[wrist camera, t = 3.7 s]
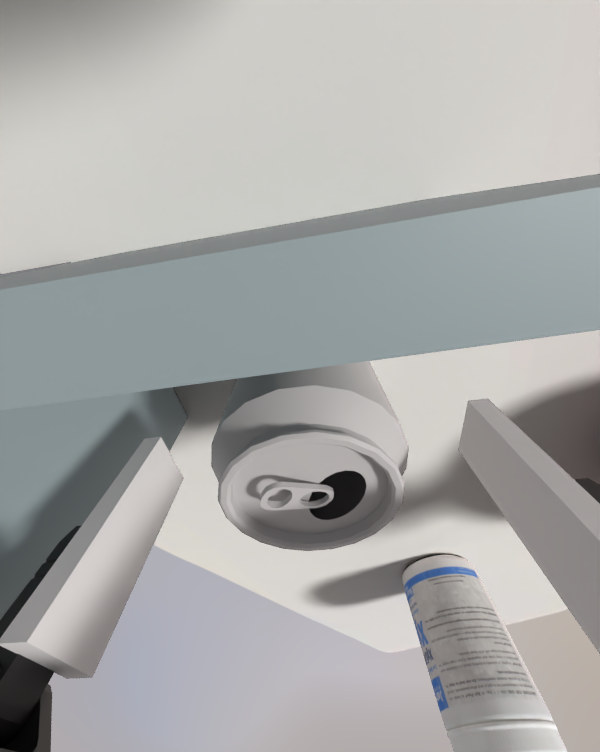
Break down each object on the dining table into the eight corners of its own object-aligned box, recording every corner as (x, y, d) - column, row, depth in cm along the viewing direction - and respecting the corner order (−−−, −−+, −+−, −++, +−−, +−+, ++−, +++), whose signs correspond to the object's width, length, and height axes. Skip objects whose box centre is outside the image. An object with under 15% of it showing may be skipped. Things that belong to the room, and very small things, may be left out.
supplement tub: (386, 568, 36) (435, 761, 23) (453, 542, 32) (551, 750, 20) (422, 591, 39) (480, 768, 27) (484, 570, 36) (585, 760, 23)
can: (332, 404, 21) (363, 576, 11) (241, 378, 20) (181, 546, 10) (375, 320, 18) (480, 459, 8) (268, 282, 17) (218, 387, 6)
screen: (85, 259, 16) (-595, 392, 4) (429, 198, 14) (1114, 100, 2) (169, 420, 22) (16, 659, 10) (413, 390, 21) (572, 627, 9)
